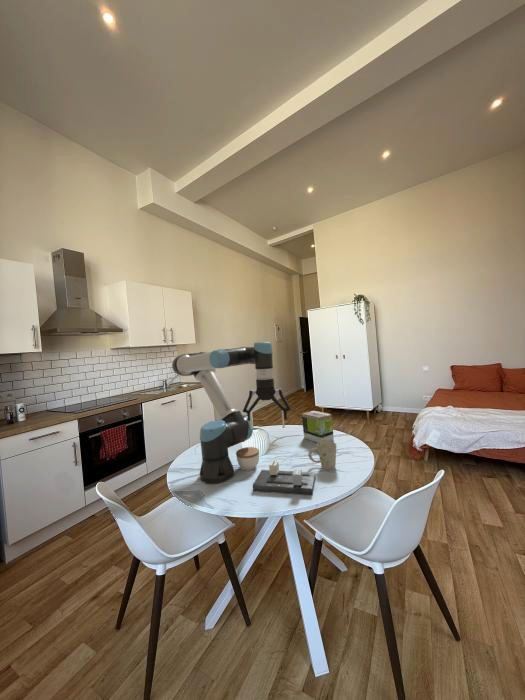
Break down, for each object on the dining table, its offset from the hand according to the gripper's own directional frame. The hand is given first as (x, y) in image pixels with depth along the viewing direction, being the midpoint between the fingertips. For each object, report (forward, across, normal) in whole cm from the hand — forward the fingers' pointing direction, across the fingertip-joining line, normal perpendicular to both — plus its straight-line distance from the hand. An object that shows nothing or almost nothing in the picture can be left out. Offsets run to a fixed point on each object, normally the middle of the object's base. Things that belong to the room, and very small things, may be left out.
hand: (267, 427), depth 120 cm
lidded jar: (+22, -11, +9) cm, 26 cm away
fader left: (+18, +2, -4) cm, 18 cm away
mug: (+21, +24, +6) cm, 32 cm away
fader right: (+17, +11, -13) cm, 24 cm away
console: (+21, +6, -8) cm, 23 cm away
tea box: (+22, +25, +42) cm, 53 cm away
